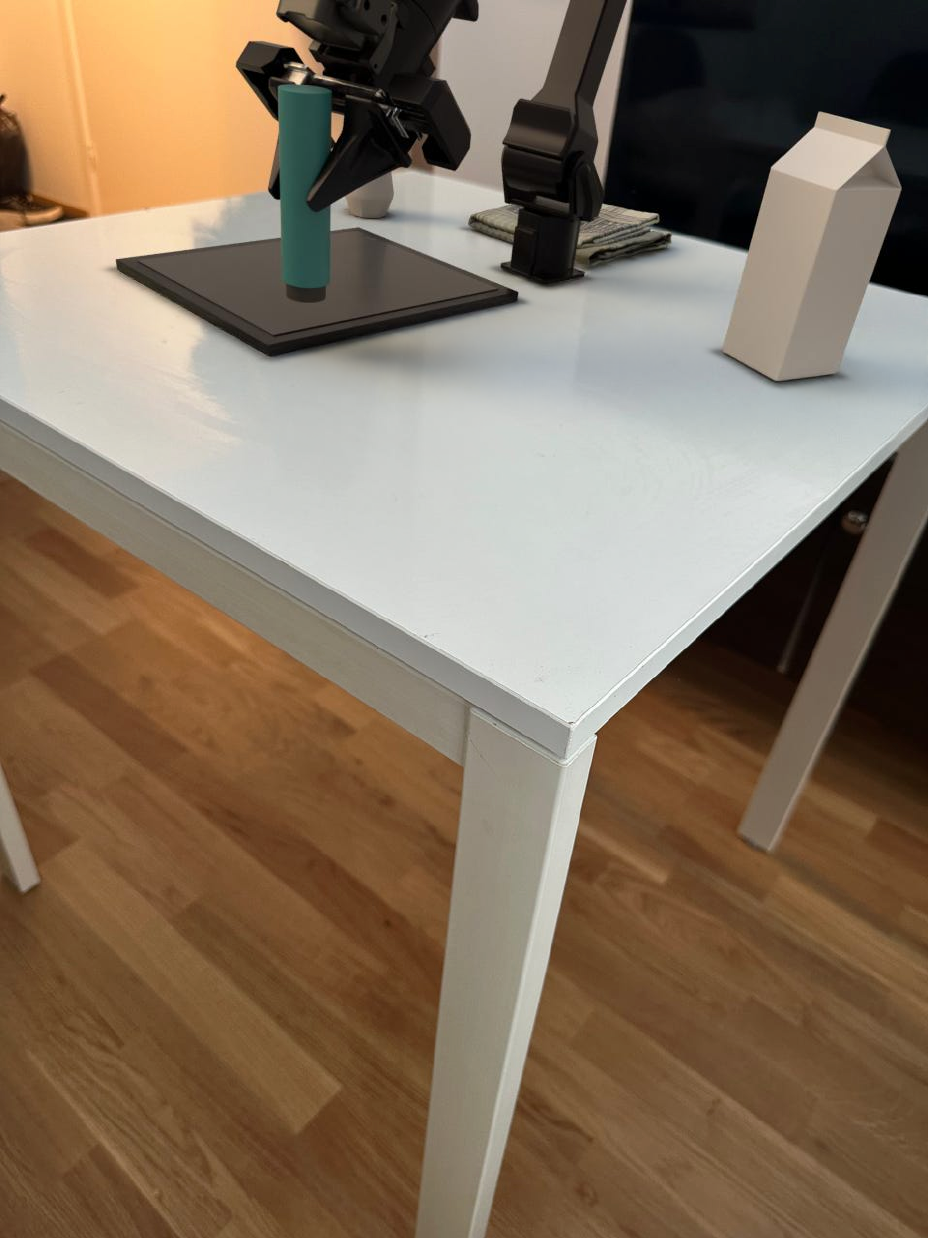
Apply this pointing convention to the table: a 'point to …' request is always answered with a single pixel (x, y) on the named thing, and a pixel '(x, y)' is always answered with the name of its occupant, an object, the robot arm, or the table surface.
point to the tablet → (355, 297)
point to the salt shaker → (372, 198)
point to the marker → (304, 189)
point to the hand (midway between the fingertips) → (291, 201)
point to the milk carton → (813, 250)
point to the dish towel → (588, 232)
